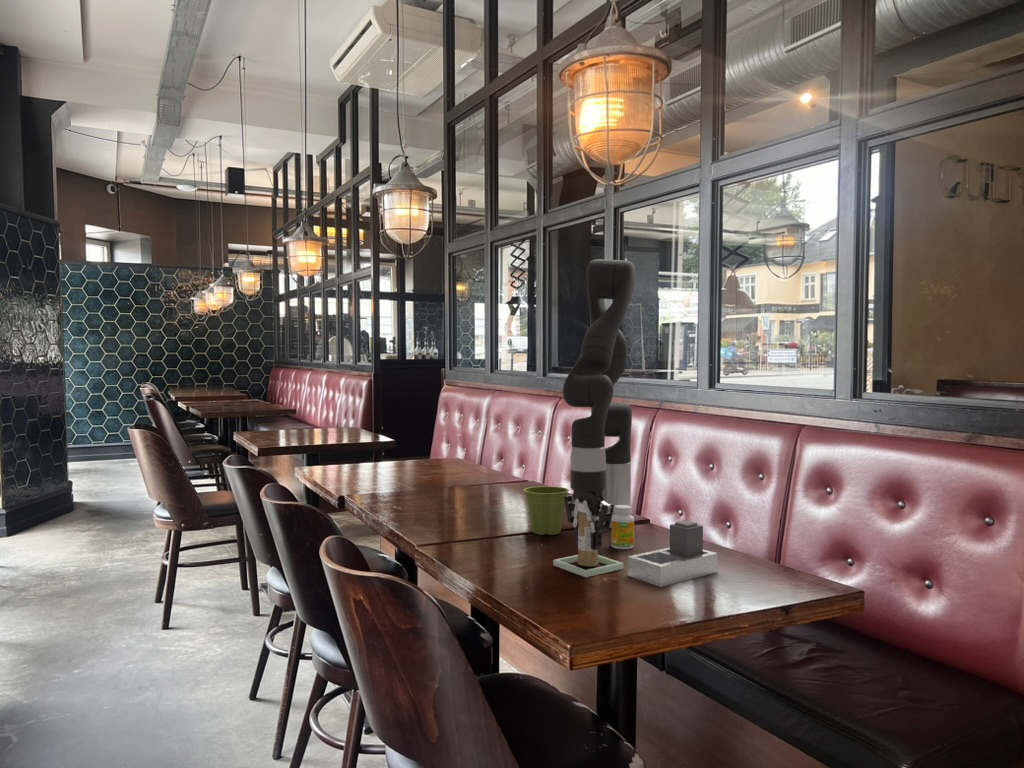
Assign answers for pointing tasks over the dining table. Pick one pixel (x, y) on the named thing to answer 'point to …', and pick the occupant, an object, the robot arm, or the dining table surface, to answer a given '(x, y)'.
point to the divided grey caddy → (670, 566)
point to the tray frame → (610, 566)
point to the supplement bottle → (622, 528)
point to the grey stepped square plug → (686, 539)
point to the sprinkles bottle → (585, 539)
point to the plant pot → (546, 508)
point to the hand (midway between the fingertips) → (587, 546)
